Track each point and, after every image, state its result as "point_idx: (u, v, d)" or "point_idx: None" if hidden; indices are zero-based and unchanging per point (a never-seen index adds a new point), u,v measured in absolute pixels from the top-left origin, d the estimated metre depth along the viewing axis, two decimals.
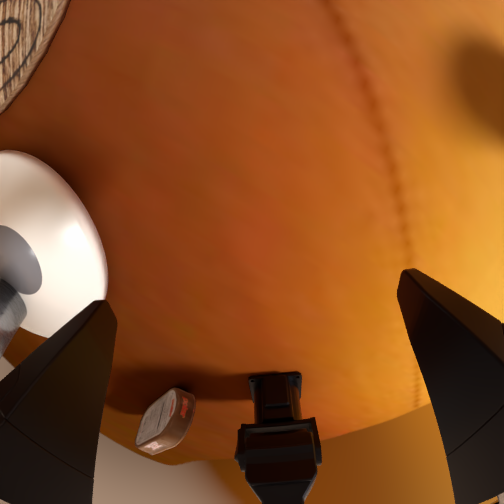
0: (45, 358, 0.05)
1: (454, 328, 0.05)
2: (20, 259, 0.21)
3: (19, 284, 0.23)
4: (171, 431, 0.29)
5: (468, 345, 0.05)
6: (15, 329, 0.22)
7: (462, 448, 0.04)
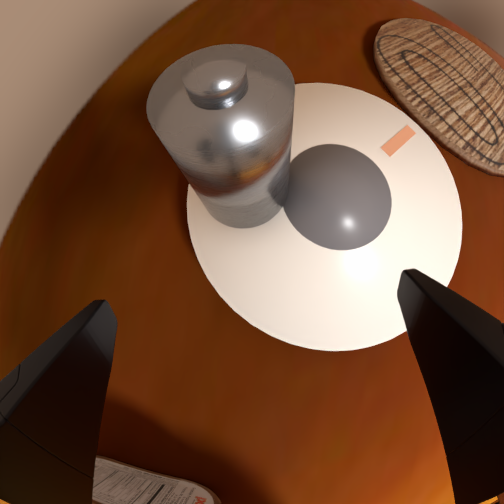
0: (45, 358, 0.05)
1: (454, 328, 0.05)
2: (356, 208, 0.19)
3: (304, 209, 0.19)
4: None
5: (468, 345, 0.05)
6: (240, 214, 0.17)
7: (462, 448, 0.04)
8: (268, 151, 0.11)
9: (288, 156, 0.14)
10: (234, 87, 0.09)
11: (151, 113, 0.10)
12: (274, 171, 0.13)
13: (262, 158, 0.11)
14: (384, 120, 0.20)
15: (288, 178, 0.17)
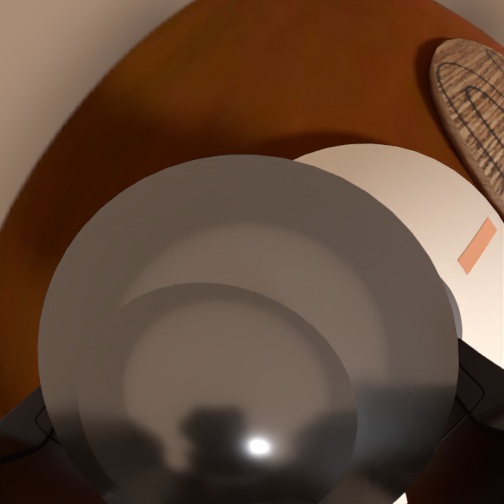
0: None
1: None
2: None
3: None
4: None
5: None
6: None
7: None
8: None
9: None
10: None
11: (57, 420, 0.03)
12: None
13: None
14: (463, 212, 0.13)
15: None
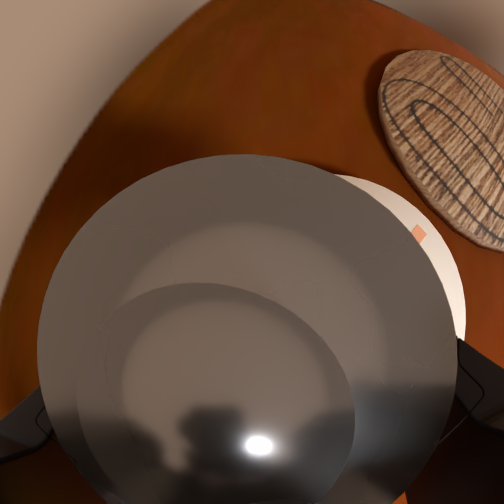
0: None
1: None
2: None
3: None
4: None
5: None
6: None
7: None
8: None
9: None
10: None
11: (56, 420, 0.03)
12: None
13: None
14: None
15: None
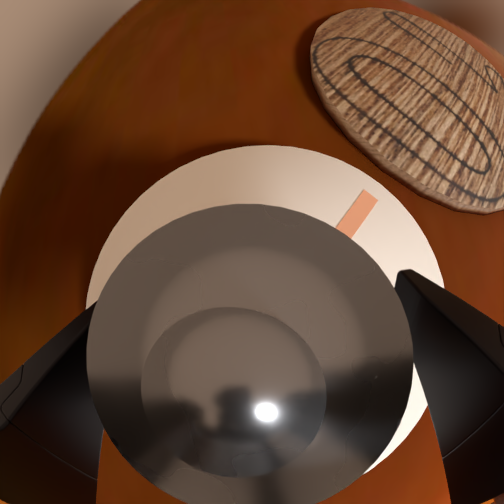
0: (49, 358, 0.05)
1: (450, 329, 0.05)
2: None
3: None
4: None
5: (464, 347, 0.05)
6: None
7: (458, 450, 0.04)
8: None
9: None
10: None
11: (102, 408, 0.04)
12: None
13: None
14: (328, 191, 0.16)
15: None
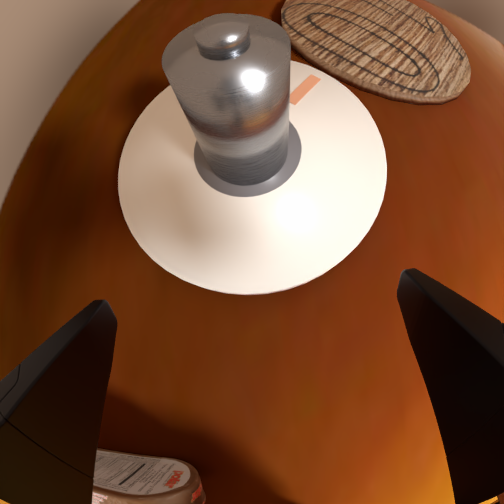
0: (45, 358, 0.05)
1: (454, 328, 0.05)
2: None
3: None
4: None
5: (468, 345, 0.05)
6: (243, 166, 0.17)
7: (462, 448, 0.04)
8: (268, 95, 0.12)
9: (287, 108, 0.14)
10: (239, 40, 0.10)
11: (165, 65, 0.11)
12: (274, 118, 0.14)
13: (263, 101, 0.12)
14: None
15: (287, 136, 0.18)
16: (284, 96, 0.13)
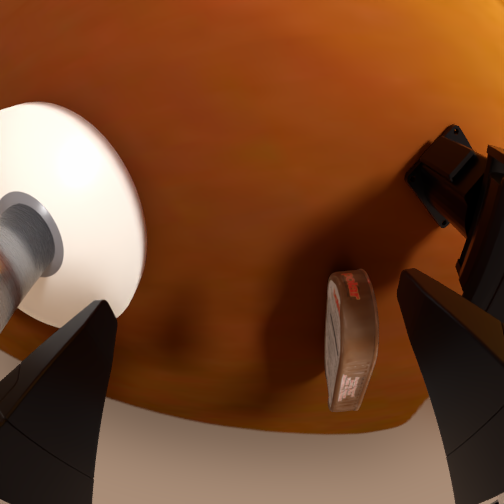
0: (45, 358, 0.05)
1: (454, 328, 0.05)
2: None
3: None
4: (353, 333, 0.18)
5: (468, 345, 0.05)
6: (32, 255, 0.16)
7: (462, 448, 0.04)
8: None
9: None
10: None
11: None
12: None
13: None
14: None
15: (2, 220, 0.15)
16: None
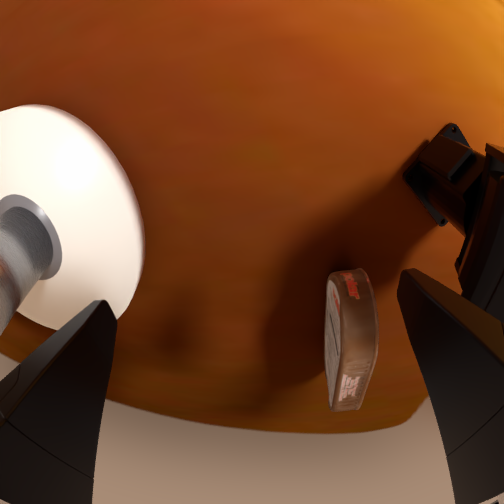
0: (45, 358, 0.05)
1: (454, 328, 0.05)
2: None
3: None
4: (353, 333, 0.18)
5: (468, 345, 0.05)
6: (31, 258, 0.16)
7: (462, 448, 0.04)
8: None
9: None
10: None
11: None
12: None
13: None
14: None
15: (0, 223, 0.15)
16: None
